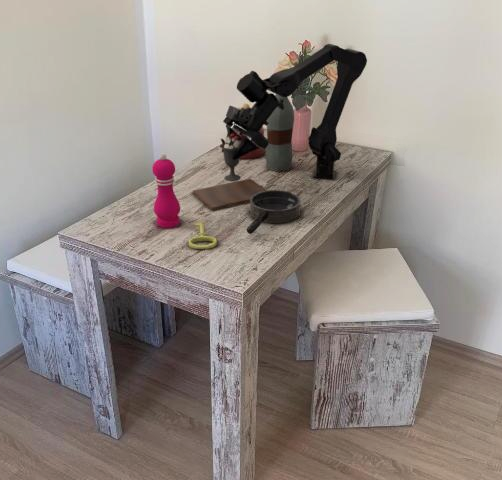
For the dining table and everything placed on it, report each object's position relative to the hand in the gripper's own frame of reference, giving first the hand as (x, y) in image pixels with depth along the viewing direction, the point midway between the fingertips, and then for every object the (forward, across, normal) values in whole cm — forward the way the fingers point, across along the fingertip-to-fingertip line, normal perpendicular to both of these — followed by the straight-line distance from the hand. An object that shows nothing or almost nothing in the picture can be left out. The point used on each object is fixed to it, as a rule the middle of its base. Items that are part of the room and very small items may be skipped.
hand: (227, 155), depth 169 cm
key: (+22, +22, -4) cm, 31 cm away
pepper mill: (+25, +8, -7) cm, 28 cm away
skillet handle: (+10, +25, +5) cm, 28 cm away
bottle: (-9, -14, +28) cm, 32 cm away
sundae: (+4, 0, +6) cm, 8 cm away
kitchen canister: (-6, -31, +25) cm, 41 cm away
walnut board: (+8, 0, +10) cm, 13 cm away
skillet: (+5, +17, +14) cm, 22 cm away
